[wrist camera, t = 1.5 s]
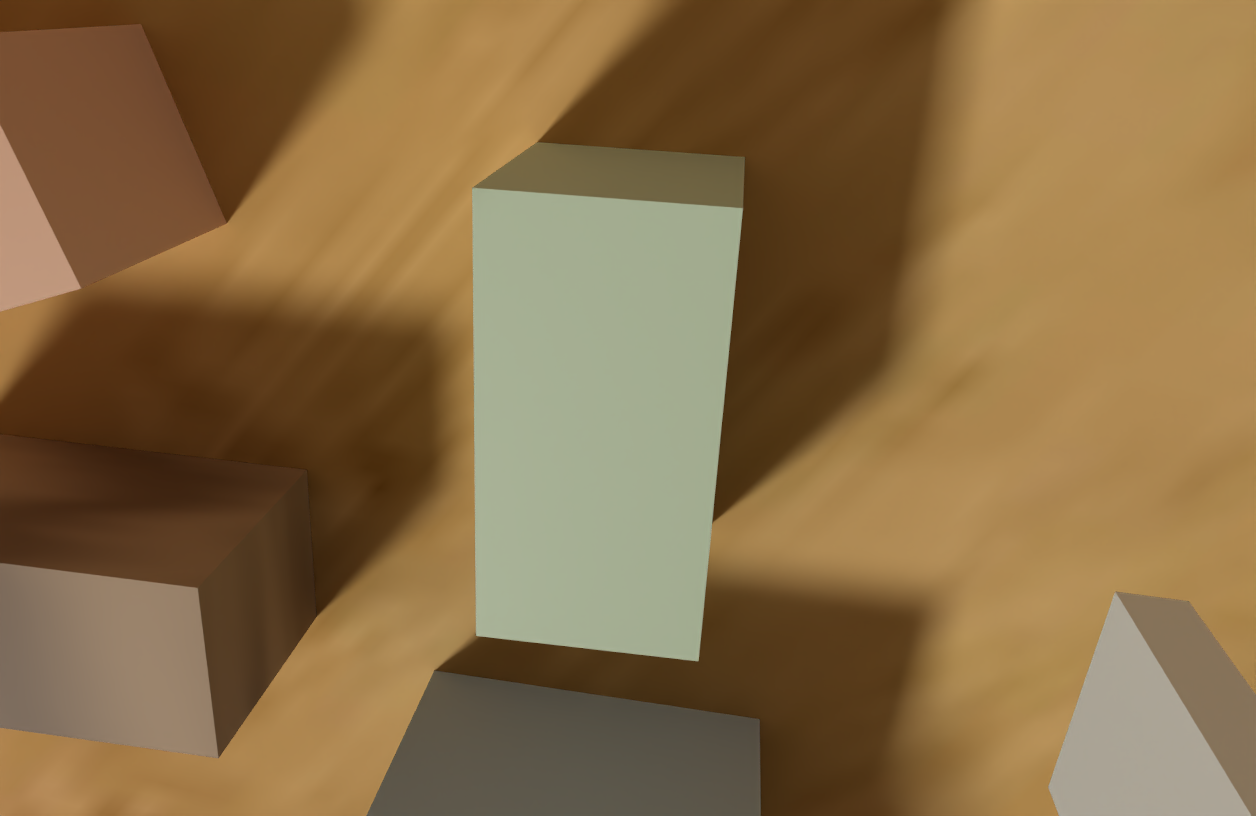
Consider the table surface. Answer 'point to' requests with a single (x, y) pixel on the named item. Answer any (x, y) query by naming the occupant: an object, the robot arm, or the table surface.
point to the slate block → (567, 756)
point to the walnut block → (146, 591)
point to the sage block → (600, 392)
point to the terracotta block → (90, 161)
